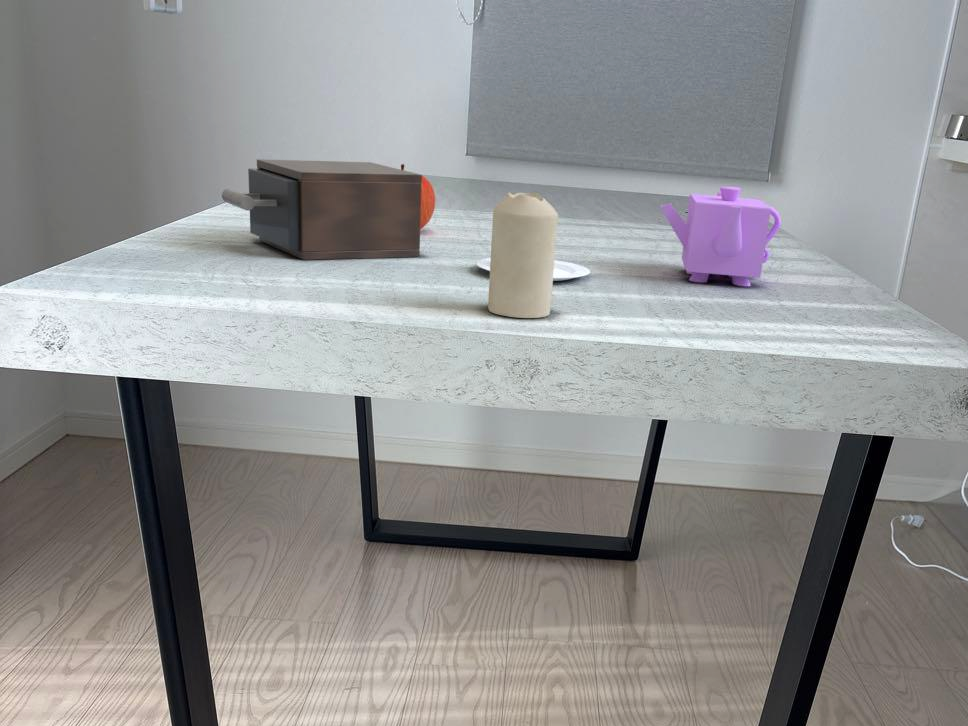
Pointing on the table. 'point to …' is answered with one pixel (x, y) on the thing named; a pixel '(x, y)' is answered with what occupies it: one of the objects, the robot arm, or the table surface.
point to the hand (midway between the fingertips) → (163, 12)
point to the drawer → (270, 207)
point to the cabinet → (353, 209)
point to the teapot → (724, 235)
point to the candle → (522, 256)
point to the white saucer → (560, 269)
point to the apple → (426, 201)
